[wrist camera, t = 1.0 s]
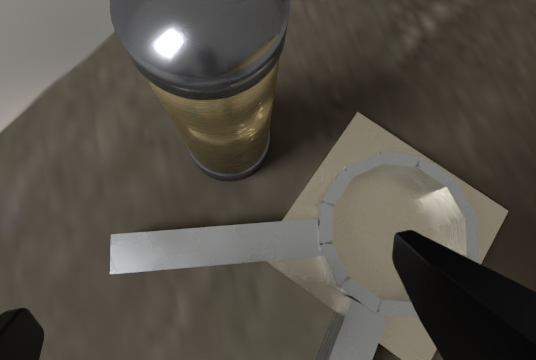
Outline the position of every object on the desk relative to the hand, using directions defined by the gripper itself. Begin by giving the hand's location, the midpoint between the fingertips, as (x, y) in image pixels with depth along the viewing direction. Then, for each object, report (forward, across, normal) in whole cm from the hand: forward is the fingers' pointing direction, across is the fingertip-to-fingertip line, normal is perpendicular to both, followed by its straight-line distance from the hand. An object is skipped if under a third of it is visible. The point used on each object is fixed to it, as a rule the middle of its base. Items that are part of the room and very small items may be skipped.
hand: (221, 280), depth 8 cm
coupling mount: (+9, -3, +10) cm, 14 cm away
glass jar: (+15, 0, +3) cm, 16 cm away
